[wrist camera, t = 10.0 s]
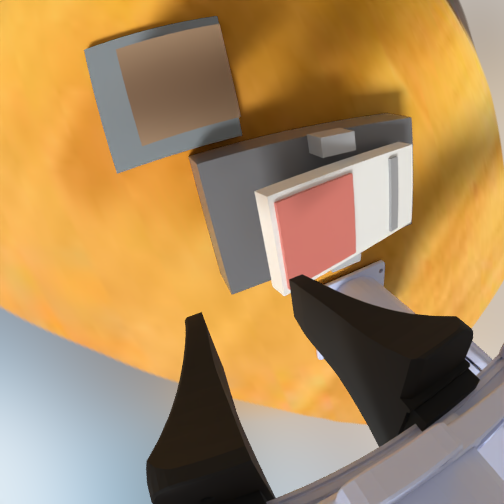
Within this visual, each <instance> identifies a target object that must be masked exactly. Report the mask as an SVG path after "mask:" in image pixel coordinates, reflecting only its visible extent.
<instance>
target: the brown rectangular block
mask: <svg viewBox="0 0 504 504" xmlns="http://www.w3.org/2000/svg"><path fill="white" fill-rule="evenodd" d="M116 53H117V57H118V61H119V65H120V69H121V73H122V77H123V80H124V84H125V88H126V92H127V95H128V99H129V103H130V106H131V110H132V113H133V117H134V120H135V124H136V127H137V131H138V134H139V137H140V141H141V144H142V146H145V145H148V144H150V143H153V142H156V141H159V140H162V139H165V138H168V137H171V136H175V135H178V134H181V133H184V132H188V131H191V130H194V129H198V128H201V127H204V126H208V125H212V124H215V123H219V122H223V121H226V120H230V119H234V118H238V117H241V114H240V110H239V105H238V101H237V97H236V92H235V88H234V83H233V79H232V75H231V70H230V66H229V62H228V57H227V53H226V49H225V45H224V40H223V36H222V32H221V28H220V24H215V25H209V26H204V27H199V28H194V29H189V30H184V31H180V32H176V33H172V34H167V35H163V36H160V37H156V38H152V39H149V40H145V41H142V42H138V43H135V44H132V45H128V46H125V47H122V48H119V49H116Z"/></svg>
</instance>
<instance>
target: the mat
mask: <svg viewBox="0 0 504 504" xmlns="http://www.w3.org/2000/svg"><path fill="white" fill-rule="evenodd" d="M215 24H219V22H218V17H217V16H213V17H207V18H201V19H195V20H190V21H185V22H180V23H175V24H170V25H166V26H161V27H157V28H153V29H149V30H145V31H142V32H138V33H134V34H131V35H127V36H124V37H121V38H117V39H114V40H111V41H108V42H105V43H102V44H99V45H96V46H93V47H91V48H88V49H85V50H84V51H85V56H86V61H87V65H88V70H89V74H90V78H91V83H92V87H93V91H94V95H95V99H96V102H97V106H98V110H99V114H100V117H101V121H102V125H103V128H104V132H105V135H106V139H107V142H108V145H109V149H110V152H111V155H112V158H113V162H114V165H115V168H116V171H117V174H118V173H120V172H123V171H126V170H129V169H132V168H134V167H137V166H140V165H143V164H146V163H149V162H152V161H155V160H158V159H161V158H164V157H168V156H171V155H174V154H177V153H180V152H184V151H187V150H190V149H194V148H197V147H201V146H204V145H208V144H211V143H215V142H219V141H222V140H226V139H230V138H234V137H238V136H242V131H241V126H240V121H239V117H238V118H234V119H230V120H226V121H223V122H219V123H215V124H212V125H208V126H204V127H201V128H198V129H194V130H191V131H188V132H184V133H181V134H178V135H175V136H171V137H168V138H165V139H162V140H159V141H156V142H153V143H150V144H148V145H145V146H142V144H141V141H140V137H139V134H138V131H137V127H136V124H135V120H134V117H133V113H132V110H131V106H130V103H129V99H128V95H127V92H126V88H125V84H124V80H123V77H122V73H121V69H120V65H119V61H118V57H117V53H116V49H119V48H122V47H125V46H128V45H132V44H135V43H138V42H142V41H145V40H149V39H152V38H156V37H160V36H163V35H167V34H172V33H176V32H180V31H184V30H189V29H194V28H199V27H204V26H209V25H215Z"/></svg>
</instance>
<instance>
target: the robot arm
mask: <svg viewBox="0 0 504 504" xmlns="http://www.w3.org/2000/svg"><path fill="white" fill-rule="evenodd" d="M384 273H385V263H384V262H383V261H382V260H379V261H377V262H375V263H373V264H370V265H368V266H366V267H364V268H361V269H359V270H357V271H354V272H352V273H350V274H348V275H345V276H343V277H341V278H338V279H336V280H334V281H331V282H329V283H327V284H324V285H323V284H321V283H319V282H317V281H315V280H313V279H311V278H309V277H307V276H305V275H303V274H302V275H299V276H296V277H294V278H291V279H289V283H290V290H291V297H292V304H293V311H294V317H295V318H296V320H297V322H298V324H299V325H300V327H301V329H302V330H303V332H304V334H305V335H306V336H307V338H308V339H309V340H310V341H311V343H312V344H313V345H314V346H315V348H316V350H317V358H318V359H319V360H322V359H325V360H326V361H327V363H328V364H329V365H330V366H331V367H332V369H333V370H334V371H335V373H336V374H337V375H338V377H339V378H340V380H341V381H342V383H343V384H344V386H345V387H346V389H347V391H348V392H349V394H350V395H351V397H352V399H353V400H354V402H355V404H356V405H357V407H358V409H359V410H360V412H361V414H362V416H363V417H364V419H365V421H366V423H367V425H368V426H369V428H370V430H371V432H372V434H373V436H374V438H375V440H376V442H377V444H378V446H379V448H377V449H375V450H374V451H372V452H370V453H369V454H367V455H365V456H363V457H362V458H360V459H358V460H356V461H354V462H353V463H351V464H349V465H347V466H345V467H343V468H341V469H340V470H338V471H336V472H334V473H332V474H330V475H328V476H326V477H323V478H322V479H319V480H317V481H315V482H313V483H311V484H309V485H306V486H304V487H302V488H300V489H297V490H295V491H293V492H290V493H288V494H285V495H283V496H280V497H278V498H275V496H274V494H273V492H272V490H271V488H270V486H269V484H268V482H267V480H266V478H265V476H264V474H263V471H262V469H261V467H260V465H259V463H258V461H257V459H256V456H255V454H254V452H253V450H252V448H251V446H250V443H249V441H248V439H247V437H246V434H245V432H244V430H243V427H242V425H241V423H240V420H239V418H238V415H237V412H236V409H235V406H234V402H233V399H232V396H231V392H230V389H229V386H228V382H227V379H226V375H225V372H224V369H223V366H222V364H221V361H220V359H219V356H218V354H217V351H216V349H215V346H214V343H213V341H212V338H211V336H210V333H209V331H208V328H207V325H206V323H205V320H204V318H203V315H202V312H201V313H198V314H195V315H192V316H189V317H187V318H186V320H185V325H186V338H185V350H184V359H183V365H182V371H181V376H180V381H179V385H178V390H177V393H176V396H175V400H174V403H173V406H172V409H171V412H170V414H169V417H168V420H167V422H166V424H165V427H164V429H163V431H162V433H161V436H160V438H159V440H158V442H157V444H156V445H155V447H154V449H153V451H152V453H151V454H150V456H149V458H148V460H147V465H146V466H147V467H146V471H147V472H146V473H147V485H148V489H149V493H150V497H151V501H152V503H153V504H504V344H503V346H502V347H501V349H500V352H499V355H498V356H497V357H495V358H494V359H493V360H492V359H491V358H490V357H489V356H488V355H487V354H486V353H485V352H484V351H483V350H482V349H481V348H479V346H477V345H476V344H475V343H474V342H473V341H472V339H473V331H472V329H471V328H470V327H469V326H468V325H466V324H465V323H464V322H463V321H462V320H460V319H459V318H458V317H456V316H428V315H418V314H415V313H414V312H413V311H412V310H411V309H409V308H408V307H407V306H406V305H405V304H404V303H402V302H401V301H400V300H399V299H398V298H397V297H395V296H394V295H393V294H392V293H391V292H389V291H388V290H387V289H386V288H385V287H384ZM478 367H479V368H480V369H479V368H478Z"/></svg>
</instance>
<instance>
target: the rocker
mask: <svg viewBox="0 0 504 504" xmlns="http://www.w3.org/2000/svg"><path fill="white" fill-rule="evenodd" d="M412 190H413V156H412V144H408V143H403V142H396V143H393V144H389V145H386V146H383V147H380V148H377V149H374V150H370V151H367V152H364V153H361V154H358V155H355V156H352V157H349V158H346V159H343V160H340V161H337V162H334V163H331V164H328V165H325V166H323V167H320V168H317V169H314V170H311V171H308V172H305V173H303V174H300V175H297V176H294V177H291V178H289V179H286V180H283V181H280V182H278V183H275V184H272V185H270V186H267V187H264V188H262V189H259V190H256V191H254V192H255V197H256V202H257V208H258V213H259V218H260V223H261V228H262V233H263V238H264V244H265V249H266V254H267V259H268V265H269V270H270V275H271V280H272V286H273V287H274V288H275V289H276V290H277V291H279V292H280V293H281V294H282V295H283V296H286V295H287V294H289V293H291V290H290V283H289V279H291V278H294V277H296V276H299V275H302V274H303V275H305V276H307V277H309V278H311V279H313V280H314V279H316V278H318V277H320V276H321V275H323V274H325V273H327V272H328V271H330V270H332V269H334V268H335V267H337V266H339V265H341V264H342V263H344V262H346V261H347V260H349V259H351V258H353V257H354V256H356V255H358V254H359V253H361V252H363V251H364V250H366V249H368V248H369V247H371V246H373V245H374V244H376V243H378V242H379V241H381V240H383V239H384V238H386V237H388V236H389V235H391V234H393V233H394V232H396V231H397V230H399V229H401V228H402V227H404V226H405V225H407V224H409V223H410V222H411V219H412Z"/></svg>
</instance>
